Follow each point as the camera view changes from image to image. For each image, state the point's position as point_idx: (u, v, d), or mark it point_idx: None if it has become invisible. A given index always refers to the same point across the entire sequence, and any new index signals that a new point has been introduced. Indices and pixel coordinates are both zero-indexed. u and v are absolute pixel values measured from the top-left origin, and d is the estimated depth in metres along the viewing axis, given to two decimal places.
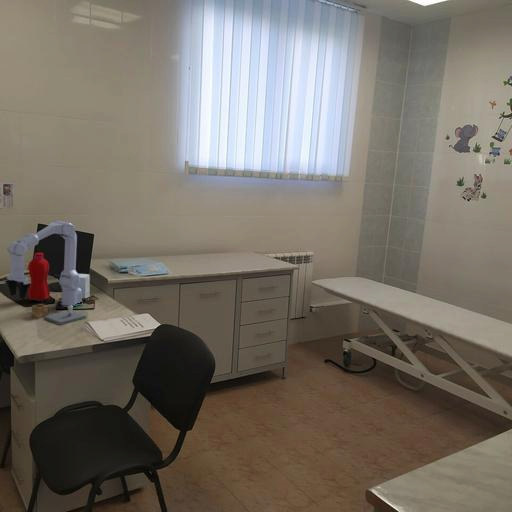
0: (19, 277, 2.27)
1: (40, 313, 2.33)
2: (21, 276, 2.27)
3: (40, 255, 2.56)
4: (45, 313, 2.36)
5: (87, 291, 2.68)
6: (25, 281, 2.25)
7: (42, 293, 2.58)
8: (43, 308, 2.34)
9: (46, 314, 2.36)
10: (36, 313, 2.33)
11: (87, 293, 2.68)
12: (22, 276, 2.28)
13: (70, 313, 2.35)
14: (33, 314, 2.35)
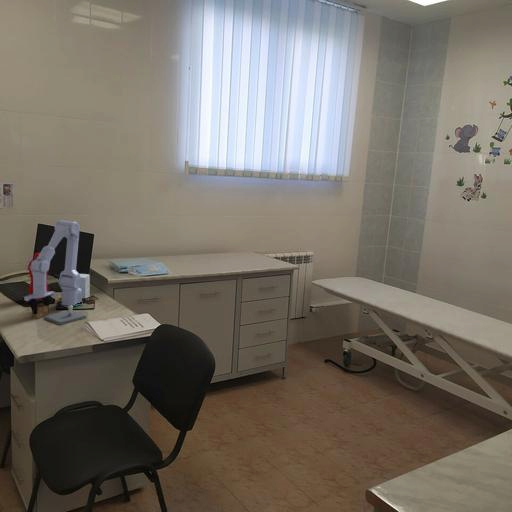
0: (33, 293, 2.32)
1: (40, 313, 2.33)
2: (34, 293, 2.32)
3: None
4: (45, 313, 2.36)
5: (87, 291, 2.68)
6: (24, 297, 2.29)
7: None
8: (43, 308, 2.34)
9: (46, 314, 2.36)
10: None
11: (87, 293, 2.68)
12: (35, 294, 2.31)
13: (70, 313, 2.35)
14: (33, 314, 2.35)
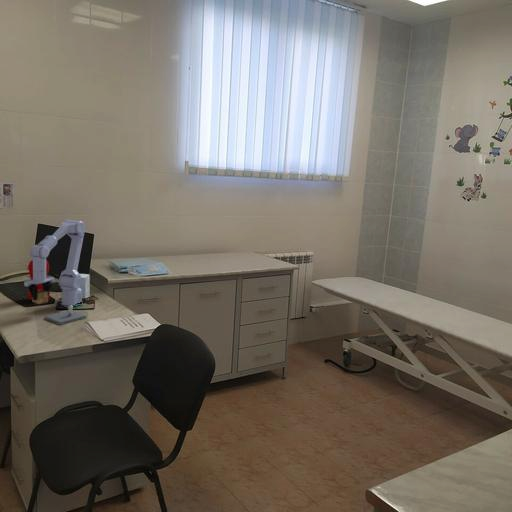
0: (33, 279, 2.31)
1: (40, 299, 2.32)
2: (34, 279, 2.30)
3: None
4: (45, 299, 2.34)
5: (87, 291, 2.68)
6: (24, 283, 2.27)
7: None
8: (43, 294, 2.33)
9: (46, 300, 2.35)
10: None
11: (87, 293, 2.68)
12: (35, 279, 2.30)
13: (70, 313, 2.35)
14: (33, 300, 2.34)
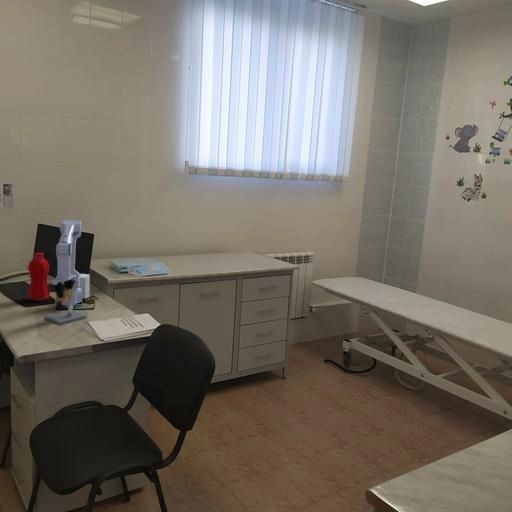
0: (58, 277, 2.30)
1: (66, 296, 2.32)
2: (60, 277, 2.30)
3: (40, 255, 2.56)
4: (70, 296, 2.35)
5: (87, 291, 2.68)
6: (52, 281, 2.26)
7: (42, 293, 2.58)
8: (68, 291, 2.33)
9: (70, 297, 2.36)
10: None
11: (87, 293, 2.68)
12: (61, 277, 2.30)
13: (70, 313, 2.35)
14: (58, 298, 2.33)
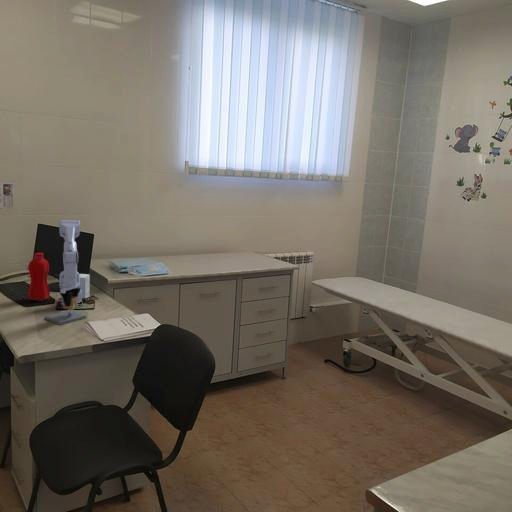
0: (66, 285, 2.31)
1: (73, 304, 2.33)
2: (67, 285, 2.31)
3: (40, 255, 2.56)
4: (76, 304, 2.36)
5: (87, 291, 2.68)
6: (61, 290, 2.27)
7: (42, 293, 2.58)
8: (75, 299, 2.35)
9: (77, 305, 2.37)
10: (70, 305, 2.33)
11: (87, 293, 2.68)
12: (68, 285, 2.31)
13: (70, 313, 2.35)
14: (64, 306, 2.33)
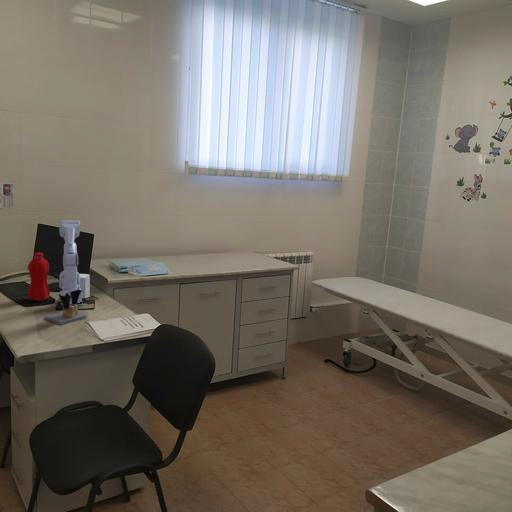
0: (66, 288, 2.31)
1: (73, 312, 2.34)
2: (67, 287, 2.31)
3: (40, 255, 2.56)
4: (76, 312, 2.37)
5: (87, 291, 2.68)
6: (61, 292, 2.27)
7: (42, 293, 2.58)
8: (75, 307, 2.35)
9: (77, 313, 2.37)
10: (69, 313, 2.33)
11: (87, 293, 2.68)
12: (68, 288, 2.31)
13: None
14: (64, 314, 2.34)
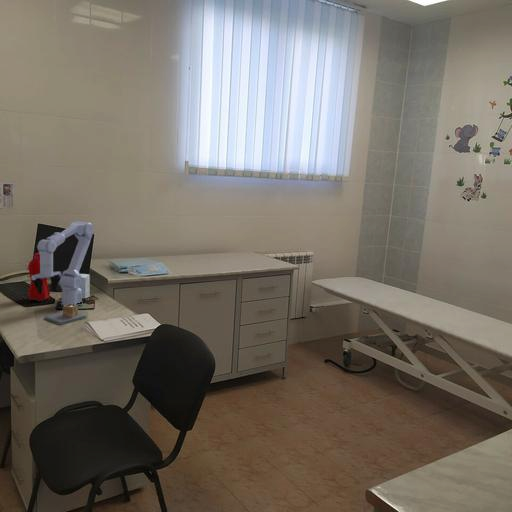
0: (40, 273, 2.36)
1: (73, 312, 2.34)
2: (41, 272, 2.35)
3: None
4: (76, 312, 2.37)
5: (87, 291, 2.68)
6: (32, 276, 2.32)
7: (42, 293, 2.58)
8: (75, 307, 2.35)
9: (77, 313, 2.37)
10: (69, 313, 2.33)
11: (87, 293, 2.68)
12: (42, 273, 2.35)
13: None
14: (64, 314, 2.34)
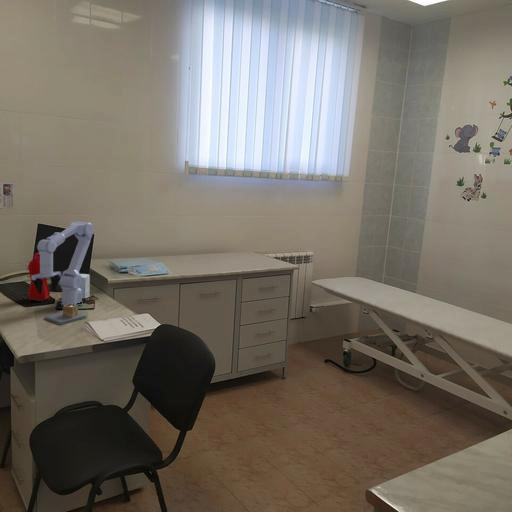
0: (40, 273, 2.36)
1: (73, 312, 2.34)
2: (41, 272, 2.35)
3: None
4: (76, 312, 2.37)
5: (87, 291, 2.68)
6: (32, 276, 2.32)
7: (42, 293, 2.58)
8: (75, 307, 2.35)
9: (77, 313, 2.37)
10: (69, 313, 2.33)
11: (87, 293, 2.68)
12: (42, 273, 2.35)
13: None
14: (64, 314, 2.34)
